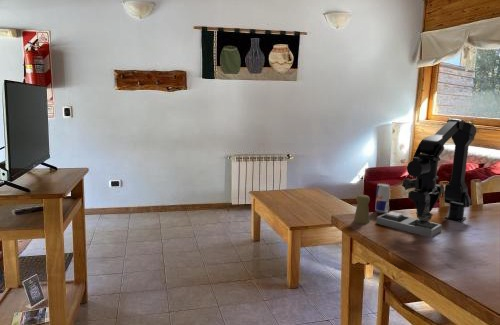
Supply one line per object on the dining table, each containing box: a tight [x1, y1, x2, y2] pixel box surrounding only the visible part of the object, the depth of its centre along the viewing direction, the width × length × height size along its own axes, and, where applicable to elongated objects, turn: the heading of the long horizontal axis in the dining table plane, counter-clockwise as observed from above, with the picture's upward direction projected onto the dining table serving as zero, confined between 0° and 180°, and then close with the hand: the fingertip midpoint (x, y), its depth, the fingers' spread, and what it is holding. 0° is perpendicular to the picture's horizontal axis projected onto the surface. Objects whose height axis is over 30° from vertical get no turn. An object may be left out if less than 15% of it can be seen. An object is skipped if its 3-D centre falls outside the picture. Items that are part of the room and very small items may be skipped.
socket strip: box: [375, 211, 443, 238], centre depth 160 cm, size 10×21×3 cm, turn 46°
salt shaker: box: [415, 196, 434, 225], centre depth 154 cm, size 6×6×12 cm
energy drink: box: [374, 183, 391, 214], centre depth 179 cm, size 5×5×12 cm
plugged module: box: [385, 211, 404, 222], centre depth 163 cm, size 5×5×4 cm
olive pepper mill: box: [353, 194, 371, 225], centre depth 165 cm, size 6×6×11 cm
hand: (424, 213), depth 155 cm, fingers closed on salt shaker, 8 cm apart
